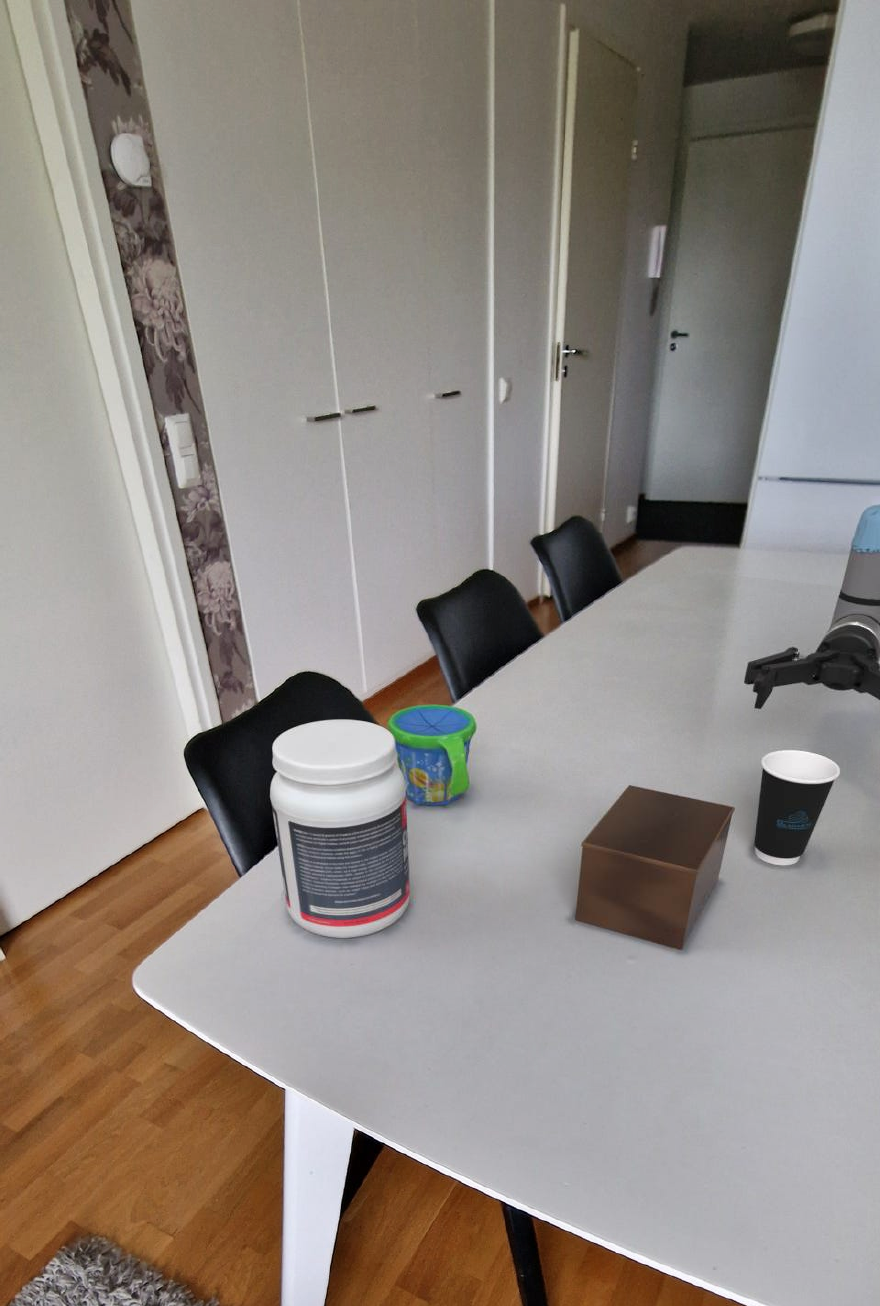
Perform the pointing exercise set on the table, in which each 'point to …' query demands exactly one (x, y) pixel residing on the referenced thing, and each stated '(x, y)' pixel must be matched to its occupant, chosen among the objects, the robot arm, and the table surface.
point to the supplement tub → (341, 827)
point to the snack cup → (433, 751)
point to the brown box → (652, 865)
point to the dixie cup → (791, 803)
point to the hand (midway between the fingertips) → (822, 707)
